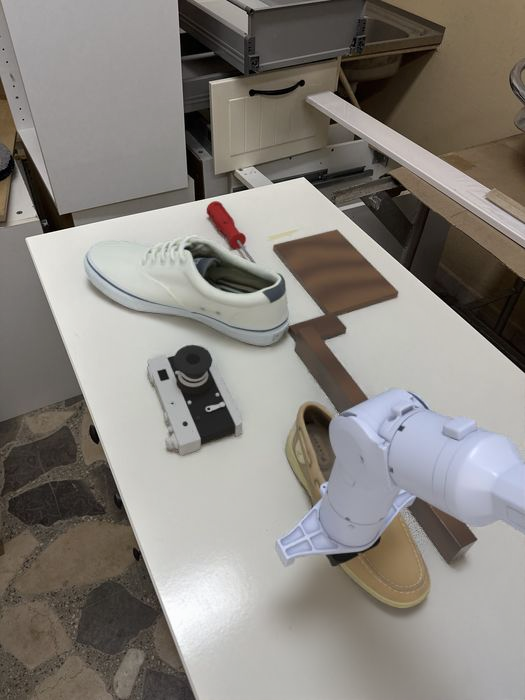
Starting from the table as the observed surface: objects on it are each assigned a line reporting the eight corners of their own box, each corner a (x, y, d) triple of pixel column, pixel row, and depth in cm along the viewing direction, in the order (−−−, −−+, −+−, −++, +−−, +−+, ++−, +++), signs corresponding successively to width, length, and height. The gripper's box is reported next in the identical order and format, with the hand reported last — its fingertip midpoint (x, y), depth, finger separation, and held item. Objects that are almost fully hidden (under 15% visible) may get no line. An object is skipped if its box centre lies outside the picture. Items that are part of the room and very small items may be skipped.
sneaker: (113, 251, 94) (102, 188, 85) (301, 306, 87) (311, 243, 78) (71, 294, 85) (54, 229, 76) (276, 358, 79) (284, 295, 70)
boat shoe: (380, 631, 54) (401, 606, 48) (261, 448, 68) (266, 411, 62) (443, 589, 57) (469, 560, 51) (317, 423, 71) (327, 385, 66)
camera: (246, 402, 64) (166, 427, 61) (243, 435, 69) (170, 459, 66) (204, 321, 73) (133, 338, 70) (205, 354, 78) (139, 372, 75)
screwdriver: (259, 295, 89) (260, 278, 86) (205, 217, 103) (205, 201, 101) (277, 290, 90) (279, 274, 87) (221, 213, 105) (221, 198, 102)
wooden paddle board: (583, 488, 67) (602, 470, 64) (447, 564, 59) (461, 548, 56) (336, 234, 102) (339, 214, 99) (230, 260, 95) (230, 240, 91)
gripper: (398, 430, 51) (367, 497, 60) (264, 487, 45) (255, 550, 55) (446, 491, 46) (405, 552, 56) (305, 561, 41) (287, 615, 51)
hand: (333, 555), depth 56 cm, fingers closed
